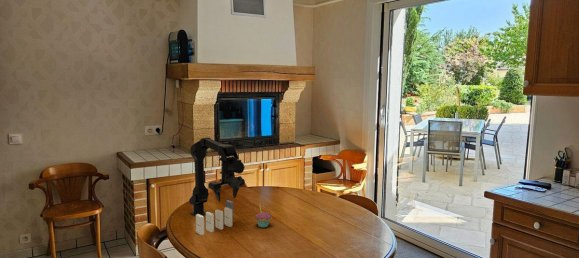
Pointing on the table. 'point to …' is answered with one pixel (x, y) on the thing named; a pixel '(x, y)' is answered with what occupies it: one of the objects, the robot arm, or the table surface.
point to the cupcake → (263, 218)
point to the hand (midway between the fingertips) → (226, 199)
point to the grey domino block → (229, 205)
